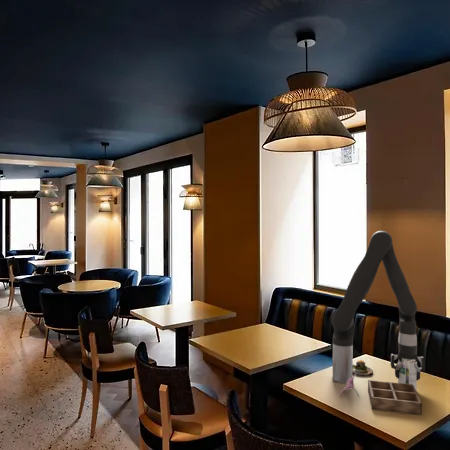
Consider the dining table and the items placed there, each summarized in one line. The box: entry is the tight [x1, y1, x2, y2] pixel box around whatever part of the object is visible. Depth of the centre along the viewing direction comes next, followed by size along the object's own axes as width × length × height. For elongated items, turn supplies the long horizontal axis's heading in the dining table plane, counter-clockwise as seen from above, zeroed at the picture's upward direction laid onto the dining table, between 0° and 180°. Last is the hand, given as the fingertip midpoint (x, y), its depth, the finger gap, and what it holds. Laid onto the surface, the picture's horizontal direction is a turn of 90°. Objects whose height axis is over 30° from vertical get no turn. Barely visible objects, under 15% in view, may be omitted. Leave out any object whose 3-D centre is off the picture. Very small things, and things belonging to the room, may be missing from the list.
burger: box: [353, 359, 374, 376], centre depth 198 cm, size 12×12×8 cm
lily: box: [338, 373, 360, 397], centre depth 173 cm, size 12×12×10 cm
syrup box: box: [397, 358, 418, 392], centre depth 178 cm, size 6×6×14 cm
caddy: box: [367, 379, 423, 416], centre depth 166 cm, size 18×18×5 cm
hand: (407, 378), depth 178 cm, fingers closed on syrup box, 7 cm apart
